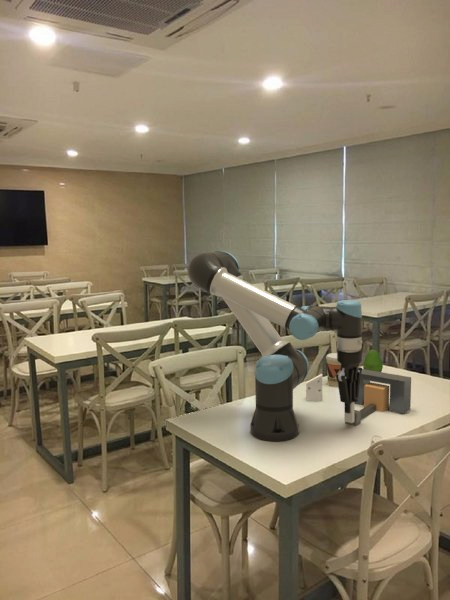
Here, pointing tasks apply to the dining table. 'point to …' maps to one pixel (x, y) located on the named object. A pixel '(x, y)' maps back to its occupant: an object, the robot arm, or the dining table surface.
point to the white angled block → (314, 389)
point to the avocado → (373, 361)
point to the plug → (372, 401)
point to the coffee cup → (333, 369)
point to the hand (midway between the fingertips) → (349, 421)
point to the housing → (398, 389)
